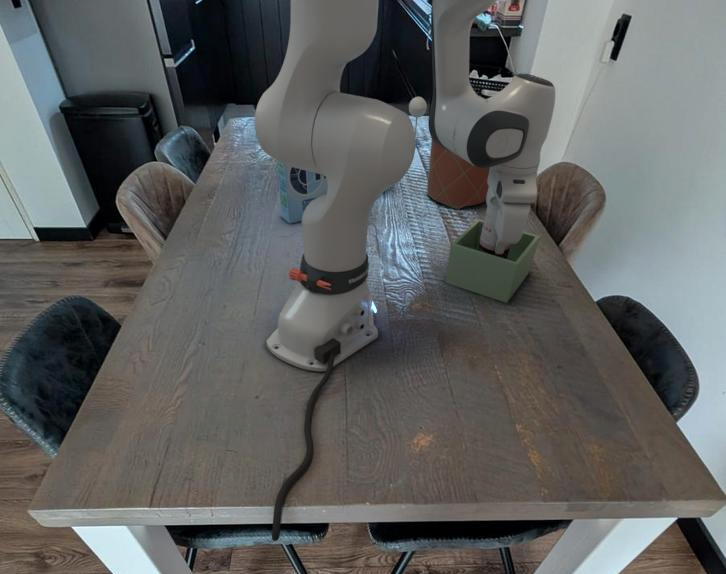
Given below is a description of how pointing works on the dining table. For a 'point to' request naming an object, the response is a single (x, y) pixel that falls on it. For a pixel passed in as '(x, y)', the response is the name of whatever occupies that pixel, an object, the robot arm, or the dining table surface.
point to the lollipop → (417, 108)
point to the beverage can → (491, 231)
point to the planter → (455, 179)
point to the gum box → (298, 190)
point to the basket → (489, 264)
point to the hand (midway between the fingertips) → (495, 243)
